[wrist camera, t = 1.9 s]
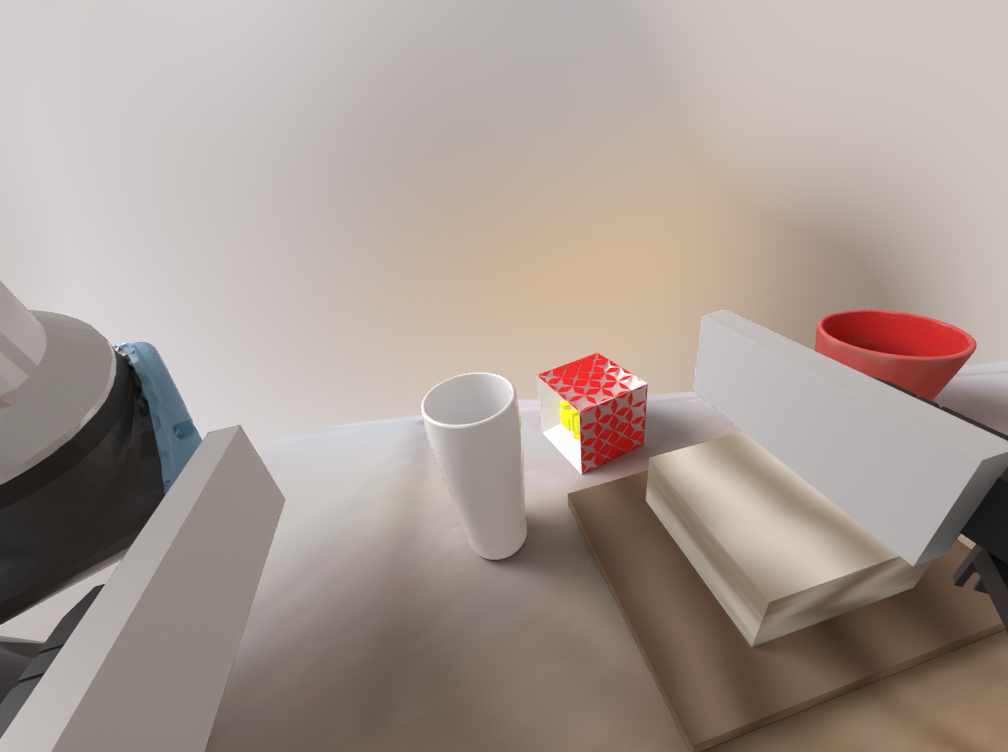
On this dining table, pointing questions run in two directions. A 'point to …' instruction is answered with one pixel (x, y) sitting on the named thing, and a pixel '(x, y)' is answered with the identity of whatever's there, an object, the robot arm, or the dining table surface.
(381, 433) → the dining table surface
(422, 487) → the dining table surface
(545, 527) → the dining table surface
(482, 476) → the drinking glass
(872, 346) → the flower pot
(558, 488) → the dining table surface
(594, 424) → the red patterned cube
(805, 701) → the display stand
